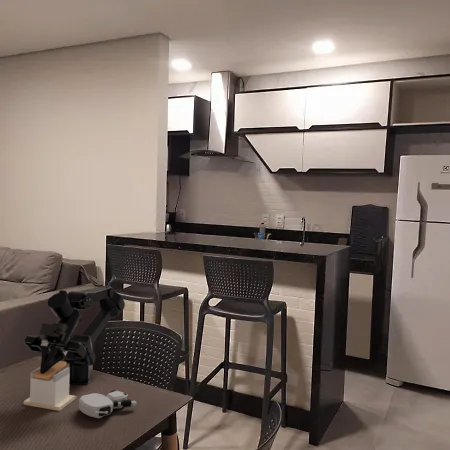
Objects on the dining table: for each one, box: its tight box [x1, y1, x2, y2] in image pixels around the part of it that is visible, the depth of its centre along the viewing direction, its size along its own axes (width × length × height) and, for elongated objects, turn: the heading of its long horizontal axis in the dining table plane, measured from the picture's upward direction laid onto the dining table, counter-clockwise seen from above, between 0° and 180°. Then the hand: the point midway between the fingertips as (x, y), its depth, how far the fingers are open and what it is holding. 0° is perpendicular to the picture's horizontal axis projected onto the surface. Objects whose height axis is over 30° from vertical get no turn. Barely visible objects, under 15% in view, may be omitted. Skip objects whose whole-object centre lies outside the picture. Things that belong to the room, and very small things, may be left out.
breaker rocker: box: [34, 360, 67, 379], centre depth 131 cm, size 9×5×2 cm, turn 166°
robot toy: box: [74, 389, 137, 419], centre depth 128 cm, size 12×4×15 cm
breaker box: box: [23, 366, 76, 412], centre depth 132 cm, size 8×12×10 cm, turn 76°
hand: (41, 373), depth 127 cm, fingers closed, pressing on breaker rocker
